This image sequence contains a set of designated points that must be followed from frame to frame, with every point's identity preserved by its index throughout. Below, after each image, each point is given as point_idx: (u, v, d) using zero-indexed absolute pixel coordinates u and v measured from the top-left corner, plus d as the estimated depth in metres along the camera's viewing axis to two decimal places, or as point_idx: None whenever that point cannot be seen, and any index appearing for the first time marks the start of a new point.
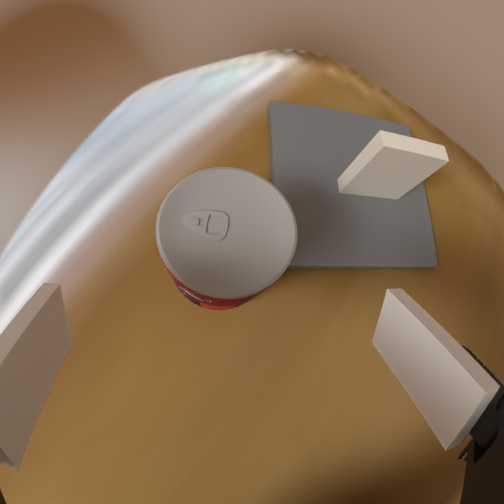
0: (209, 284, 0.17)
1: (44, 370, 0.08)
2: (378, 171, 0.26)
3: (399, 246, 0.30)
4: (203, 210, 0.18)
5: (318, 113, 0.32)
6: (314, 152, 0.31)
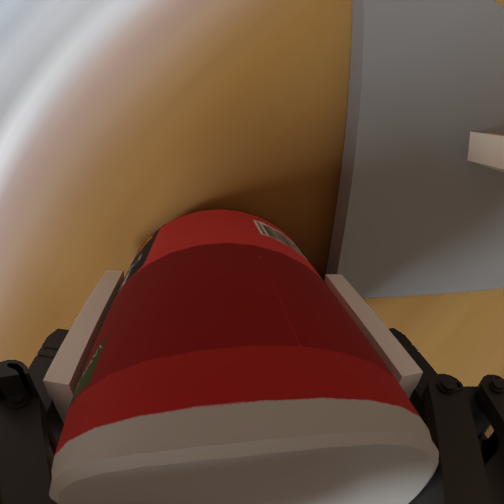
0: None
1: None
2: None
3: None
4: None
5: None
6: (443, 64, 0.11)
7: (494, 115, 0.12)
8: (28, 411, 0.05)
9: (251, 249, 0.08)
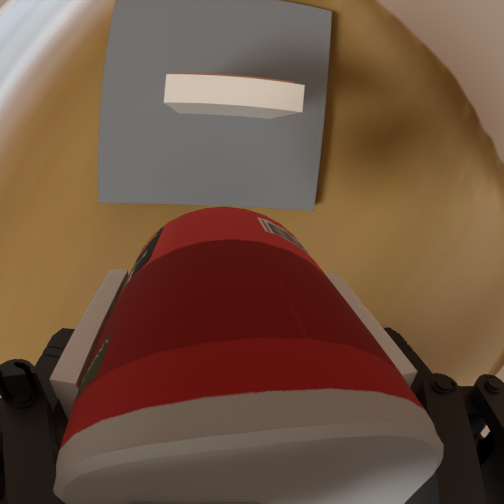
0: None
1: None
2: None
3: (256, 182, 0.25)
4: None
5: (178, 2, 0.19)
6: (157, 60, 0.21)
7: None
8: (35, 410, 0.05)
9: (256, 246, 0.08)
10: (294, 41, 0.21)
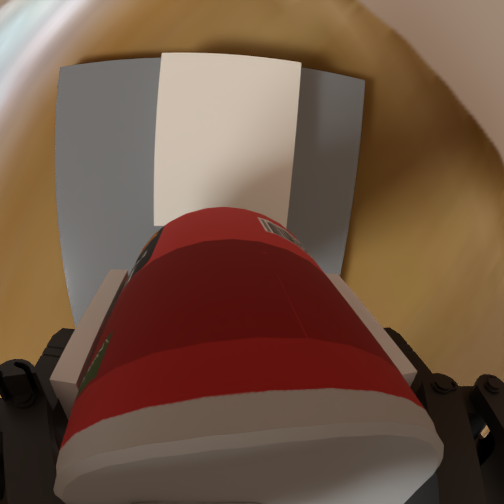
0: None
1: None
2: (189, 127, 0.15)
3: None
4: None
5: (145, 74, 0.15)
6: (121, 169, 0.16)
7: None
8: (34, 410, 0.05)
9: (256, 245, 0.08)
10: (313, 132, 0.17)
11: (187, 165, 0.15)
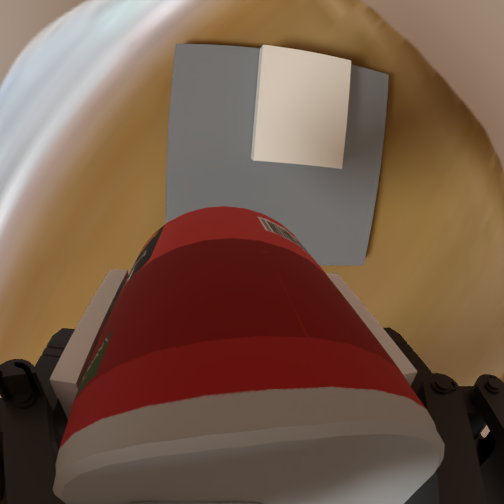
0: None
1: None
2: (281, 95, 0.21)
3: (317, 243, 0.28)
4: None
5: (244, 58, 0.21)
6: (225, 122, 0.23)
7: None
8: (35, 410, 0.05)
9: (256, 245, 0.08)
10: (355, 107, 0.24)
11: (279, 120, 0.22)
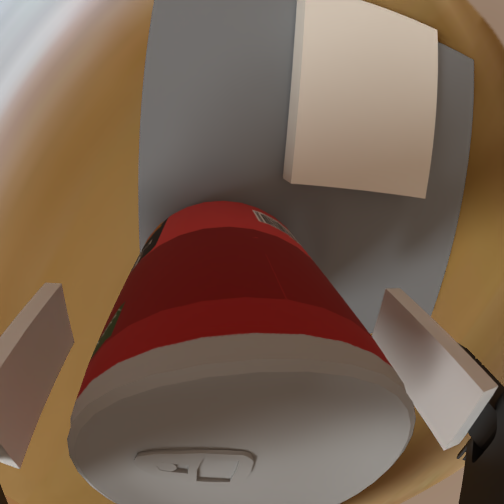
0: None
1: (45, 369, 0.08)
2: (340, 71, 0.11)
3: (373, 304, 0.18)
4: (182, 450, 0.05)
5: (272, 10, 0.11)
6: (239, 113, 0.13)
7: None
8: None
9: (249, 232, 0.10)
10: (437, 102, 0.14)
11: (336, 113, 0.12)
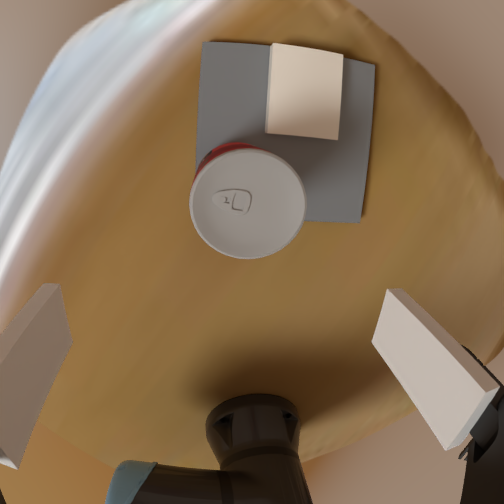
0: (233, 250, 0.22)
1: (44, 370, 0.08)
2: (288, 82, 0.26)
3: (319, 202, 0.33)
4: (229, 189, 0.21)
5: (258, 53, 0.26)
6: (244, 104, 0.28)
7: None
8: None
9: None
10: (348, 92, 0.29)
11: (287, 102, 0.27)
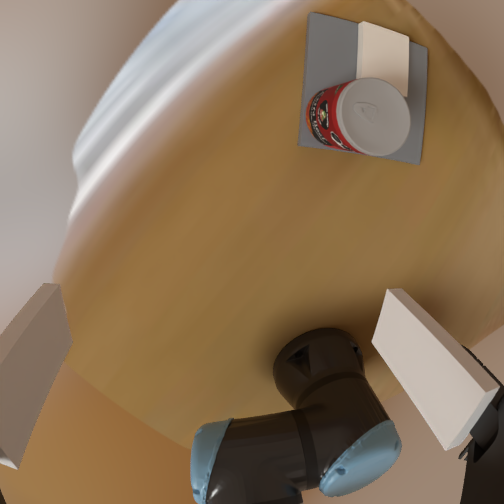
0: (365, 147, 0.27)
1: (44, 370, 0.08)
2: (374, 50, 0.31)
3: None
4: (364, 102, 0.25)
5: (350, 27, 0.31)
6: (341, 62, 0.33)
7: None
8: None
9: None
10: (410, 65, 0.34)
11: (374, 64, 0.32)
